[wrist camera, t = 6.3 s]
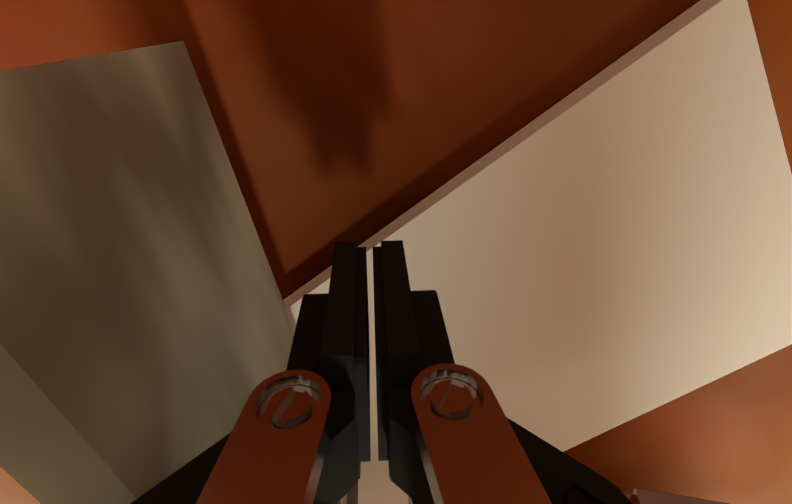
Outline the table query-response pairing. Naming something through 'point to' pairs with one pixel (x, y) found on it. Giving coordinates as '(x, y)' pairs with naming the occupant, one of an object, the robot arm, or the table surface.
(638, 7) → the table surface
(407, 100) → the table surface
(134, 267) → the gate leaf
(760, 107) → the base
